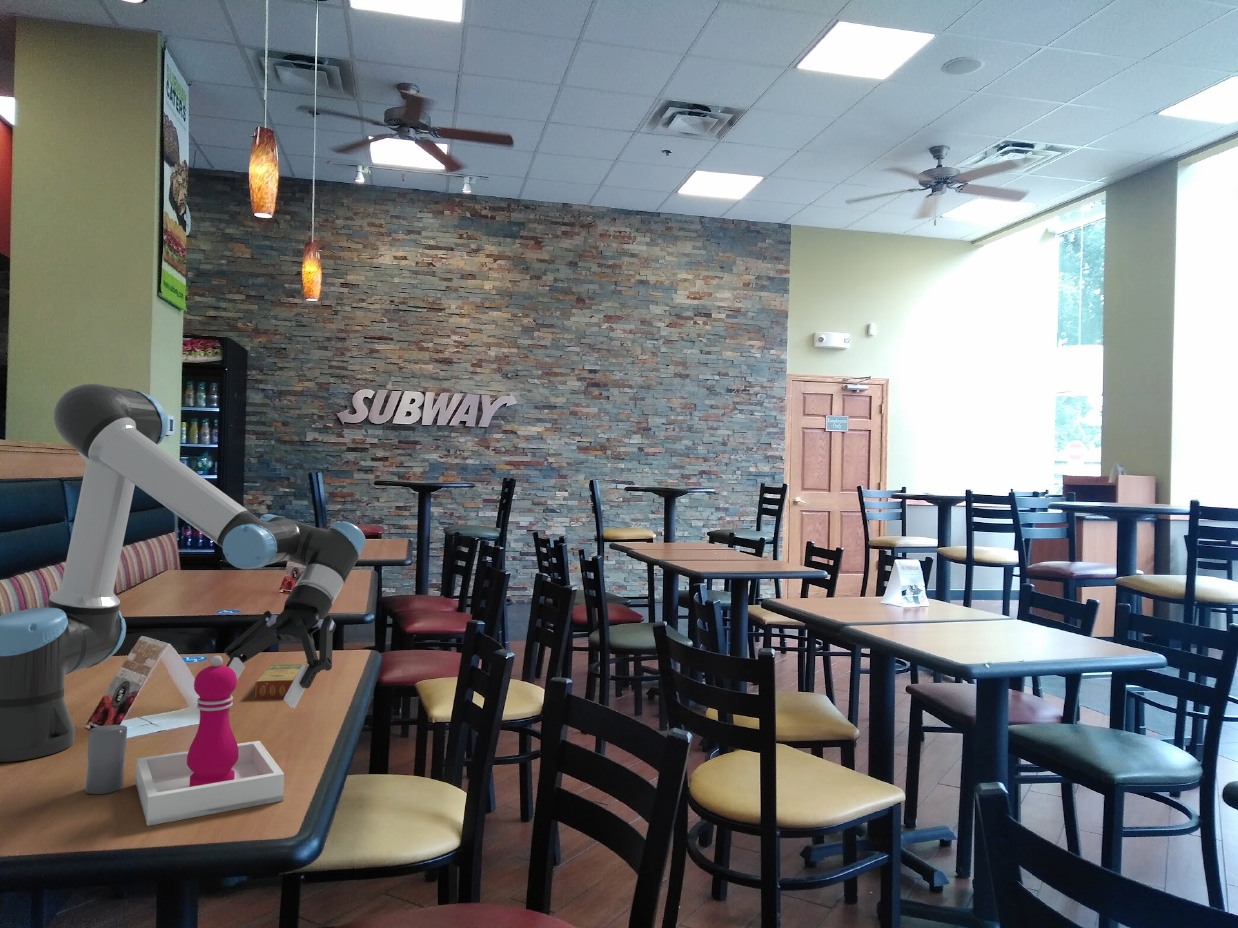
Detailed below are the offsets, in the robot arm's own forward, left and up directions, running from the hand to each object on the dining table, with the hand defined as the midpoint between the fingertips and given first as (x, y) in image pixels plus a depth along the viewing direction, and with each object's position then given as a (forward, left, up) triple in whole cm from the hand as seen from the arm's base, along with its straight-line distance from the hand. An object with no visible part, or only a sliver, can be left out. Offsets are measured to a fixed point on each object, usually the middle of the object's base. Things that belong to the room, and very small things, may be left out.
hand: (253, 699), depth 139 cm
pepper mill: (-7, -6, -11) cm, 14 cm away
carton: (+16, +52, -12) cm, 56 cm away
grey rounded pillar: (-21, +3, -12) cm, 24 cm away
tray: (-7, -6, -12) cm, 15 cm away
